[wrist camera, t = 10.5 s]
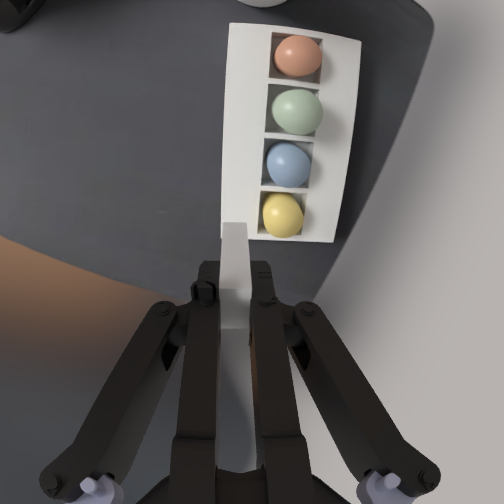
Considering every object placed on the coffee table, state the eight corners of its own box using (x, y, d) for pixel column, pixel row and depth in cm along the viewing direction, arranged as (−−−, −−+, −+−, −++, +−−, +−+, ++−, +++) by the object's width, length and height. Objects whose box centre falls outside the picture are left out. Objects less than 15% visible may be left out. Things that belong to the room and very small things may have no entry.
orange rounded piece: (273, 40, 24) (278, 32, 21) (312, 46, 25) (323, 39, 21) (271, 75, 27) (276, 72, 23) (310, 80, 27) (320, 78, 23)
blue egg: (266, 139, 31) (270, 145, 27) (304, 142, 31) (313, 149, 27) (263, 175, 33) (267, 186, 29) (300, 177, 33) (308, 189, 29)
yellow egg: (262, 187, 34) (265, 201, 30) (298, 189, 34) (306, 203, 30) (260, 220, 36) (262, 237, 32) (294, 222, 36) (300, 238, 32)
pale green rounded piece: (272, 88, 26) (277, 86, 22) (313, 93, 26) (325, 93, 22) (269, 127, 28) (273, 132, 24) (309, 131, 28) (320, 137, 24)
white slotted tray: (230, 30, 24) (229, 22, 21) (350, 45, 25) (361, 41, 22) (222, 225, 37) (220, 238, 34) (326, 229, 38) (333, 242, 35)
